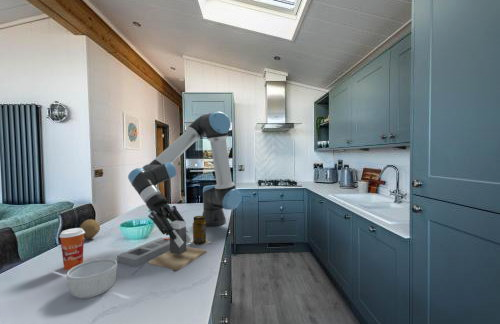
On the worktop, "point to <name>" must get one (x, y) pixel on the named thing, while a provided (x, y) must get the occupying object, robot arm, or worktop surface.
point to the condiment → (199, 231)
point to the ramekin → (92, 277)
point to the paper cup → (72, 247)
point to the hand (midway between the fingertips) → (185, 242)
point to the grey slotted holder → (144, 252)
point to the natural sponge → (90, 228)
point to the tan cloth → (177, 258)
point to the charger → (181, 231)
